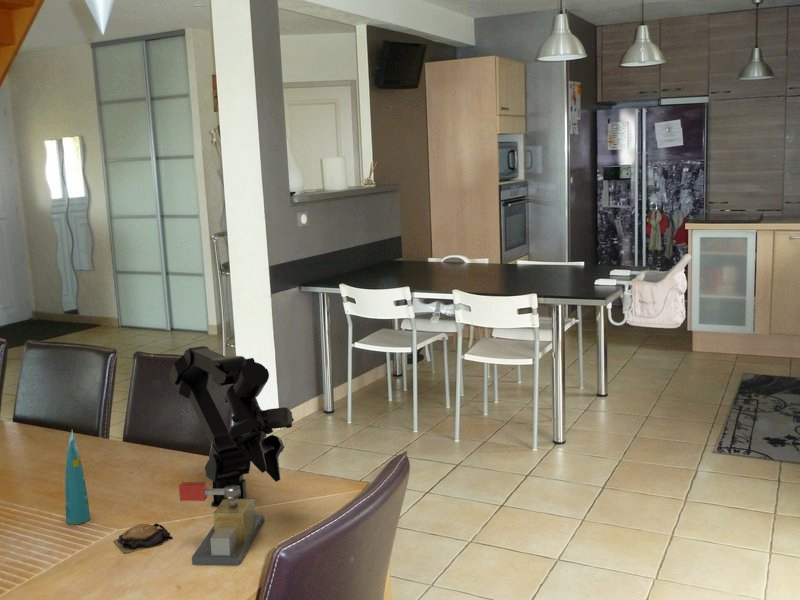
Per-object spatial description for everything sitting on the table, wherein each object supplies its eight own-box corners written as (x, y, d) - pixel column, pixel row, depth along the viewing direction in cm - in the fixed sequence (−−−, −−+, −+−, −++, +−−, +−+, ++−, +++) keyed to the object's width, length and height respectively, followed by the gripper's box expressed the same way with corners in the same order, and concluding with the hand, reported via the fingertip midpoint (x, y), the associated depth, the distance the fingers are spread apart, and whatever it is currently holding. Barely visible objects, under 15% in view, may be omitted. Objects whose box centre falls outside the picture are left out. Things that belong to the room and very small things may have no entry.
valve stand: (192, 564, 156) (189, 518, 155) (222, 520, 176) (220, 478, 174) (238, 565, 155) (236, 518, 154) (264, 520, 175) (262, 479, 174)
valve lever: (242, 496, 166) (241, 481, 165) (238, 502, 162) (237, 487, 162) (184, 495, 167) (183, 480, 166) (178, 502, 163) (177, 486, 163)
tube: (91, 524, 175) (84, 437, 172) (67, 528, 173) (59, 441, 170) (88, 511, 182) (81, 428, 179) (64, 516, 180) (57, 431, 177)
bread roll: (123, 558, 161) (122, 540, 160) (111, 542, 168) (110, 525, 167) (176, 543, 167) (175, 526, 166) (162, 528, 173) (161, 512, 173)
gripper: (266, 379, 165) (294, 448, 158) (292, 405, 182) (318, 468, 175) (216, 403, 164) (242, 473, 158) (247, 427, 181) (271, 491, 175)
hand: (271, 476), depth 166 cm, fingers open, 9 cm apart
